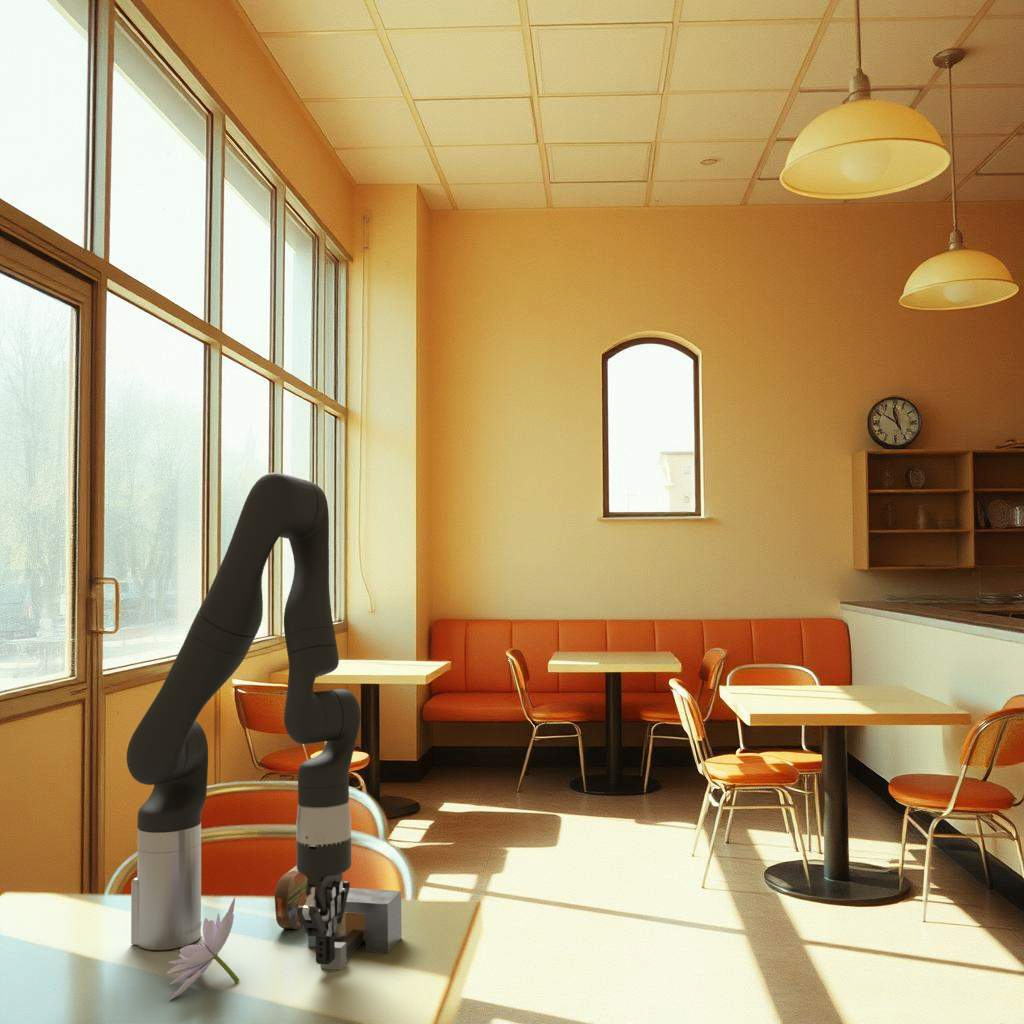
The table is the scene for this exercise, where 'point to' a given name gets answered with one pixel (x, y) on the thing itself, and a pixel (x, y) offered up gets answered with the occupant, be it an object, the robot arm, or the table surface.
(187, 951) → the water lily
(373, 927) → the housing
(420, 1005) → the table surface
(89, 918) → the table surface
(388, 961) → the table surface
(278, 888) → the tin
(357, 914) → the plug
